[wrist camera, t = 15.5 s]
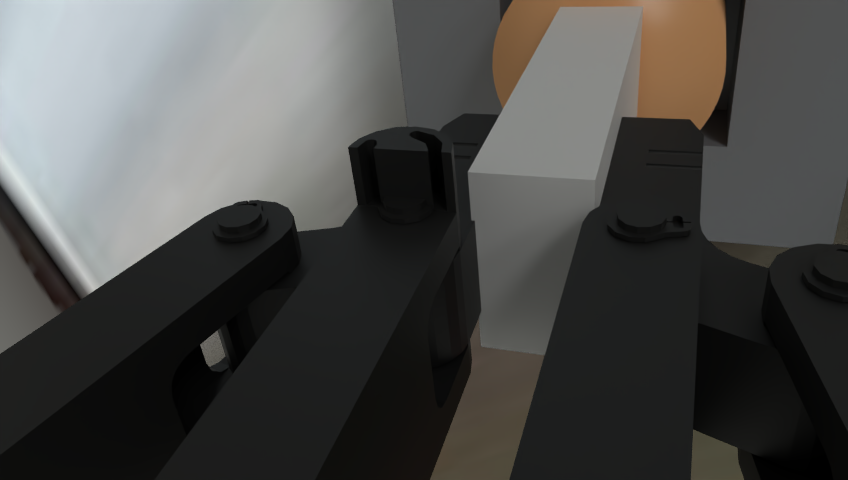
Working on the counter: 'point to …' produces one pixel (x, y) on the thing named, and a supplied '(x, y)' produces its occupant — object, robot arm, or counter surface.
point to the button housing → (724, 130)
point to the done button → (659, 59)
